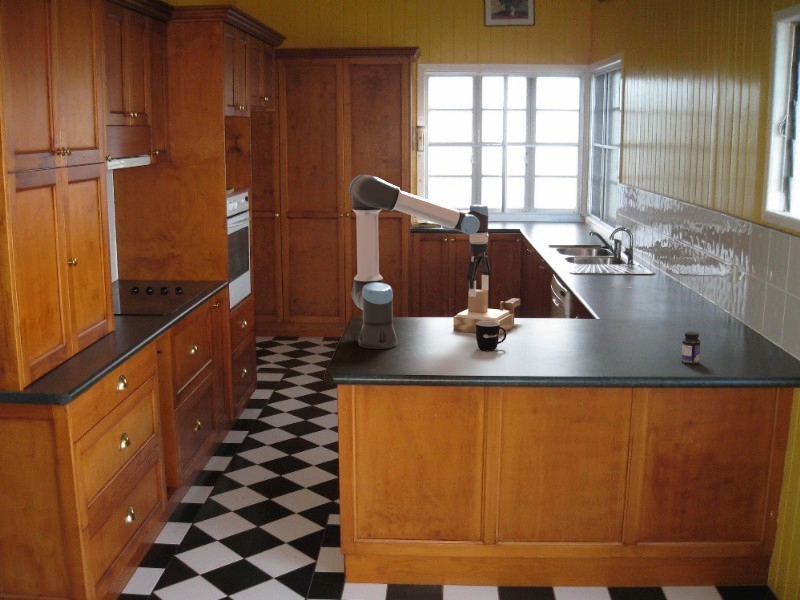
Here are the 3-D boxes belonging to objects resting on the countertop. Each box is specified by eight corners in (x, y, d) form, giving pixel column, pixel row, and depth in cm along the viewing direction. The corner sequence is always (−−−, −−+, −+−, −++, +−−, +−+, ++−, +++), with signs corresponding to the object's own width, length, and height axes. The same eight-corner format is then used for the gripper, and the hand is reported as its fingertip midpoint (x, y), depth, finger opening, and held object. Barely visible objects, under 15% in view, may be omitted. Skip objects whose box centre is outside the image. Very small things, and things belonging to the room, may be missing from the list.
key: (504, 308, 374) (504, 302, 374) (513, 303, 384) (513, 297, 383) (512, 308, 373) (512, 303, 372) (521, 304, 382) (521, 298, 382)
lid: (457, 319, 365) (457, 292, 363) (471, 312, 378) (472, 286, 376) (495, 323, 357) (496, 296, 355) (509, 315, 371) (509, 289, 369)
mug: (479, 353, 332) (480, 326, 330) (472, 347, 340) (472, 321, 338) (510, 351, 334) (510, 324, 332) (502, 345, 343) (502, 319, 341)
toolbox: (453, 330, 366) (453, 306, 364) (470, 321, 382) (470, 298, 380) (498, 335, 357) (499, 310, 355) (514, 326, 373) (514, 302, 371)
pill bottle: (695, 360, 321) (697, 330, 318) (701, 364, 315) (703, 334, 312) (678, 360, 320) (680, 330, 318) (684, 365, 314) (686, 334, 312)
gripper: (475, 247, 350) (475, 299, 355) (498, 239, 372) (498, 288, 376) (458, 246, 354) (458, 298, 358) (481, 238, 375) (481, 287, 380)
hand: (478, 293), depth 367 cm, fingers open, 13 cm apart
